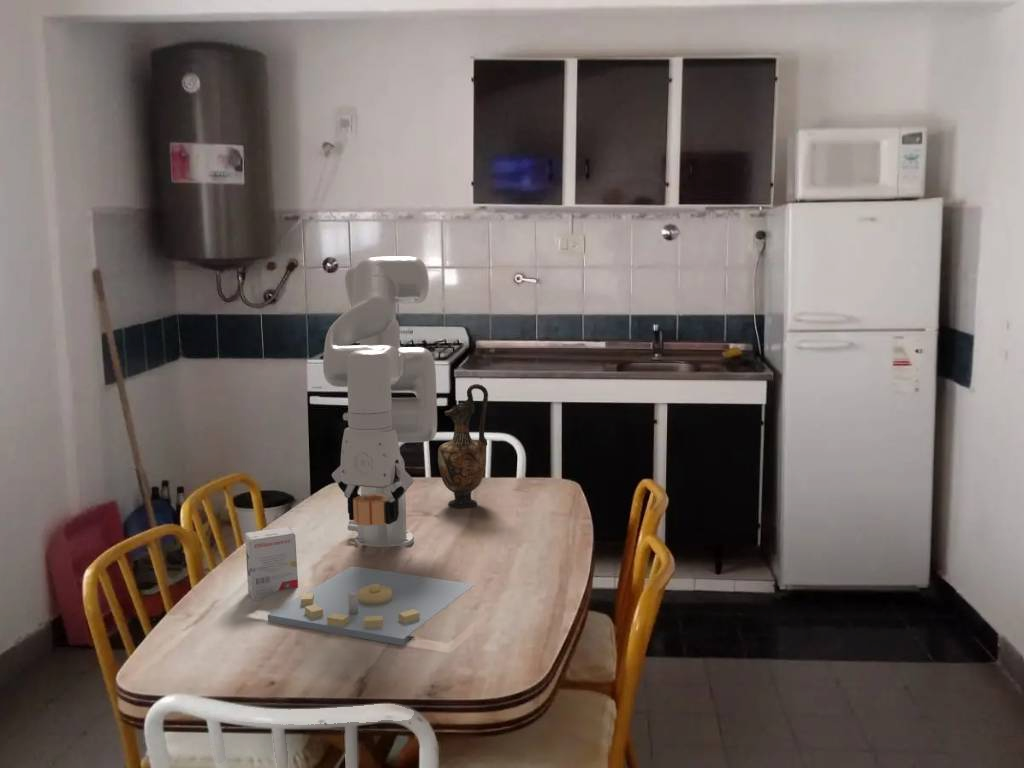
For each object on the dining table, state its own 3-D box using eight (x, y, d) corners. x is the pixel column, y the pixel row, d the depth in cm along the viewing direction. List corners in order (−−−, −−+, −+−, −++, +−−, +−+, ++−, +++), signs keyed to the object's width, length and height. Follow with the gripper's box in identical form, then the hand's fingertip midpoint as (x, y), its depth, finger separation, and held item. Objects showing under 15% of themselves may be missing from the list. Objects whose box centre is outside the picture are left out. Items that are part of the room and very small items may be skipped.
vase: (444, 497, 252) (442, 380, 248) (493, 499, 251) (491, 380, 246) (434, 510, 241) (431, 387, 236) (485, 512, 239) (483, 388, 234)
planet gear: (347, 523, 176) (346, 501, 175) (366, 514, 182) (365, 492, 181) (380, 526, 173) (379, 504, 173) (398, 517, 180) (398, 495, 179)
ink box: (292, 585, 192) (290, 525, 190) (299, 593, 188) (296, 532, 186) (246, 592, 188) (243, 532, 186) (252, 601, 184) (249, 539, 182)
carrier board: (267, 621, 175) (266, 595, 174) (352, 571, 199) (351, 549, 198) (403, 645, 164) (402, 618, 163) (474, 590, 188) (474, 566, 188)
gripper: (316, 421, 175) (319, 521, 178) (404, 427, 169) (406, 530, 171) (339, 414, 182) (342, 510, 184) (424, 420, 175) (426, 519, 178)
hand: (373, 519), depth 178 cm, fingers closed on planet gear, 6 cm apart
